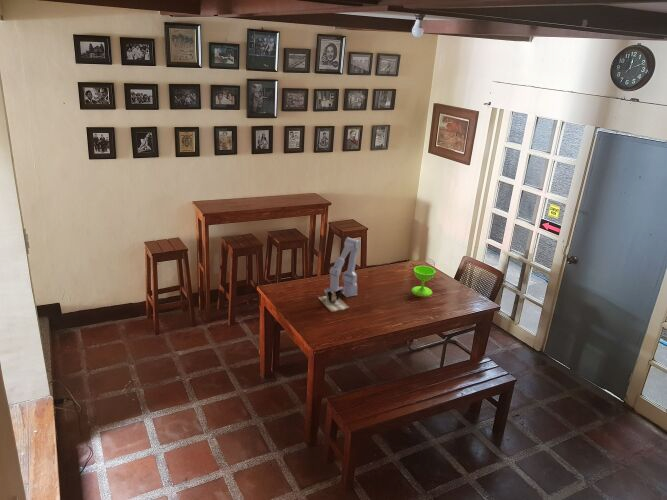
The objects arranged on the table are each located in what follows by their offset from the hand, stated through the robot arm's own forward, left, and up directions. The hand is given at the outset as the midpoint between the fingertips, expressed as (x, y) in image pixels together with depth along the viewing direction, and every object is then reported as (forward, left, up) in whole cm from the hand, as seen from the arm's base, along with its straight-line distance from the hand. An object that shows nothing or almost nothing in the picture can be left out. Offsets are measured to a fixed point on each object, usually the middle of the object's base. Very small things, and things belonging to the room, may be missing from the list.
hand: (333, 300), depth 377 cm
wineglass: (-72, +7, -3) cm, 72 cm away
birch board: (0, 0, -3) cm, 3 cm away
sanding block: (0, -4, -1) cm, 4 cm away
